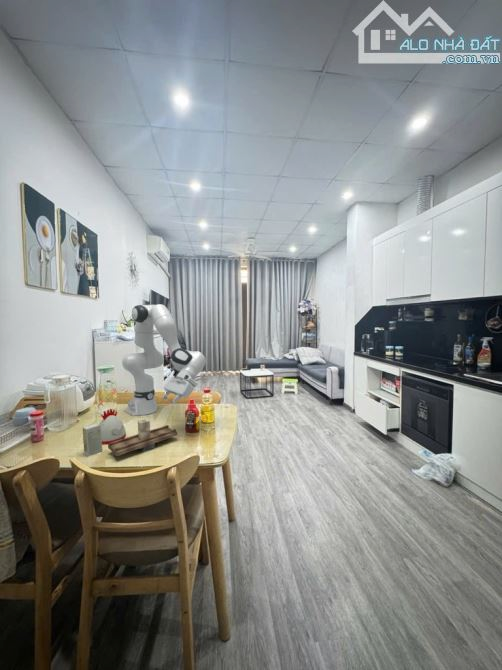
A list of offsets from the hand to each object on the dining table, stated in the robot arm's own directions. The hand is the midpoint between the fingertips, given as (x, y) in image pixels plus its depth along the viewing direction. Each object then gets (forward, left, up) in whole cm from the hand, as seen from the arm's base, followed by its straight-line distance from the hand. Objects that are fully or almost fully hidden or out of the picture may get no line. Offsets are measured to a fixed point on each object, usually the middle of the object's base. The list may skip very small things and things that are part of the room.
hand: (168, 401), depth 132 cm
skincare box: (-16, -29, -19) cm, 38 cm away
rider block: (-2, -12, -15) cm, 19 cm away
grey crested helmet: (-24, -17, -19) cm, 35 cm away
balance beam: (-2, -12, -19) cm, 23 cm away
